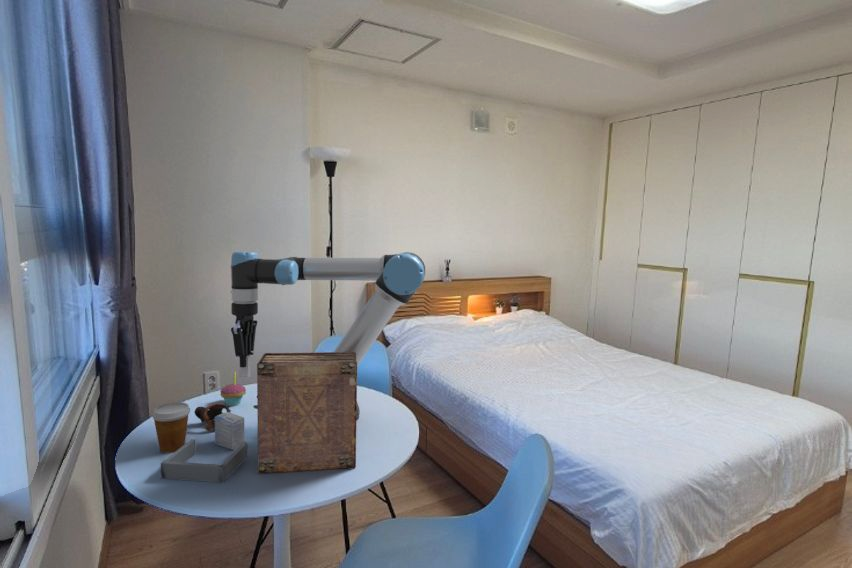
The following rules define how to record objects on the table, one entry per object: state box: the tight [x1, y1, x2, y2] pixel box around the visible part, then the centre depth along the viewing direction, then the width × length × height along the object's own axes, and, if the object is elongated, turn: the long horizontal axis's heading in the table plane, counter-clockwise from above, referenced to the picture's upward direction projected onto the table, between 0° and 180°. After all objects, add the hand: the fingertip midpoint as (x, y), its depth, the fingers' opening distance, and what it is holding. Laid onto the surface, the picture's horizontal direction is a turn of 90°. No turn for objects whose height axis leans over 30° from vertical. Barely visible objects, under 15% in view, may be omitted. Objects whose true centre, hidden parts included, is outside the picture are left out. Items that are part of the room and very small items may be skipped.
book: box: [256, 351, 358, 475], centre depth 120 cm, size 25×9×30 cm, turn 101°
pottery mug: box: [194, 402, 232, 432], centre depth 142 cm, size 12×10×8 cm
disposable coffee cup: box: [151, 401, 191, 454], centre depth 126 cm, size 10×10×12 cm
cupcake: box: [220, 371, 247, 407], centre depth 160 cm, size 9×8×12 cm
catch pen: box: [160, 438, 248, 483], centre depth 117 cm, size 16×13×4 cm
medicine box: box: [214, 411, 246, 451], centre depth 129 cm, size 8×4×9 cm, turn 61°
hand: (244, 375), depth 138 cm, fingers closed
